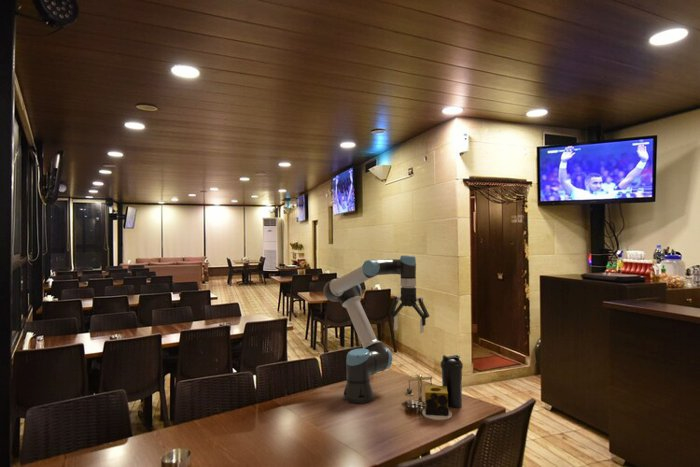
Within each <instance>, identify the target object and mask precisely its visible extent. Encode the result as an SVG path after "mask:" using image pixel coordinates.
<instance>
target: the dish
mask: <svg viewBox="0 0 700 467" xmlns="http://www.w3.org/2000/svg"><path fill="white" fill-rule="evenodd" d="M448 410H449V416H440V415H426V411H425V408H423V409H422V416H423V417H424V418H426V419H430V420H434V421H445V420H449V419H451V418H452V416H453V412H452V410H450V409H448Z"/></svg>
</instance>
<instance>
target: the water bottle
mask: <svg viewBox="0 0 700 467" xmlns="http://www.w3.org/2000/svg"><path fill="white" fill-rule="evenodd" d="M460 358H461V356H460V355H458V354H455V355H449V356H448V355H445V354H443V355H442V359H441V361H440V368H441V384H442V385H441V386H447V390H448V409H460V408H462V407H463V406H462V402H463V401H462V400H463V398H462V396H463V366H464V365H463V364H464V363H463V362H462V360H460Z"/></svg>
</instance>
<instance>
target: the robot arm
mask: <svg viewBox="0 0 700 467" xmlns="http://www.w3.org/2000/svg"><path fill="white" fill-rule="evenodd" d="M416 270H417V259H416V256H415V255H401V256H400V258H399V259H397V258H395V259H394V258H385V259H368V260H365V261H364V262H363V264H362V265H361V266H359V267H357V268H356V269H354V270H352V271H350V272H349V273H347V274H344V275H343V276H341V277H339V278H334V279H331V280H329V281H328V282H327V283H326V284H324V287H323V295H324V297H325V298H326V299H327V300H328V301H330V302H335V303H336V302H338V303H340V305H341V306H342V308H345V309H346V311H347V313H348V315H349V316H348V317H349V318H350V321H351V323H352V326H353V327H354V330H355V332H356V333H357V337H358V339H359V342H360V343H361V345H362V348H354V349H352V350H349V351H348V352H347V354H346V360H345V363H346V364H345V365H346V384H345V388H344V390H343V393H342V395H343V397H342V398H343V400H344V401H345V402H346V403H351V404H366V403H369V402H371V401H373V400H374V398H375V396H374V391H373V388H372V384H371V375H372V374H376V373H380V372H385V371H386V370H388V369H390V367H391V365H392V363H393V354H392V351H391V350H390V348H388V347H387V346H384V345H383V343H382V341H380V340H378V338H377V335H376V334H375V332H374V330H373V327H372V325H371V323H370V320H369V319H368V317H367V314H366V312H365V310H364V307H363V305H362V302H361V300H362V294H363V293H362V287H361V284H362V283H364V282H366V281H368V280H371V279H373V278H375V277H377V276H383V275H384V276H385V275H387V276H388V275H400V296H398V295H397V296H394V300H393V303H392V305H391V308H390V310H389V311H388V315H389V316H391V317H392V319H391V320H392V321H391V322H392V323H393V331H397V330H398V329H399V328H398V327H399V324H398V323H399V322H398V321H399V318H398V314H399V312H400V311H402V309H403V308H404V307H409V308H411V307H412V308H414V310H415V312H417V314H418V315H419V317H420V319H419V327H420V328H419V330H420V332H419V333H421V334H423V333H424V332H425V328H424V327H425V326H426V322H427V320H426V319H428V318H430V314H429V312H428V310H427V308H426V305H425V303H424V298H423V297H417V287H416V286H417V277H416V275H417V271H416ZM399 301H401V302H400V304H399ZM417 303H418V304H419V306H420V307H419V306H418V304H417ZM398 304H399V305H398ZM397 306H398V307H397Z"/></svg>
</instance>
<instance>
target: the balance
mask: <svg viewBox="0 0 700 467" xmlns="http://www.w3.org/2000/svg"><path fill="white" fill-rule="evenodd" d="M432 379H433V376H422V375H421V374H419V375H417V377H409V378H407V381H408V388H406V391H405V392H404V393H403V394H404V396H405V397H414V396H416V394H415V392H413V389H412V388H411V382H415V381H417V397H418V399H415V400H414V401H419V402H422V401H423V402H424V403H425V402H426V400H425V401H424V400H423V381H428V380H429V383H430V384H429V386H433V385H432Z"/></svg>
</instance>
